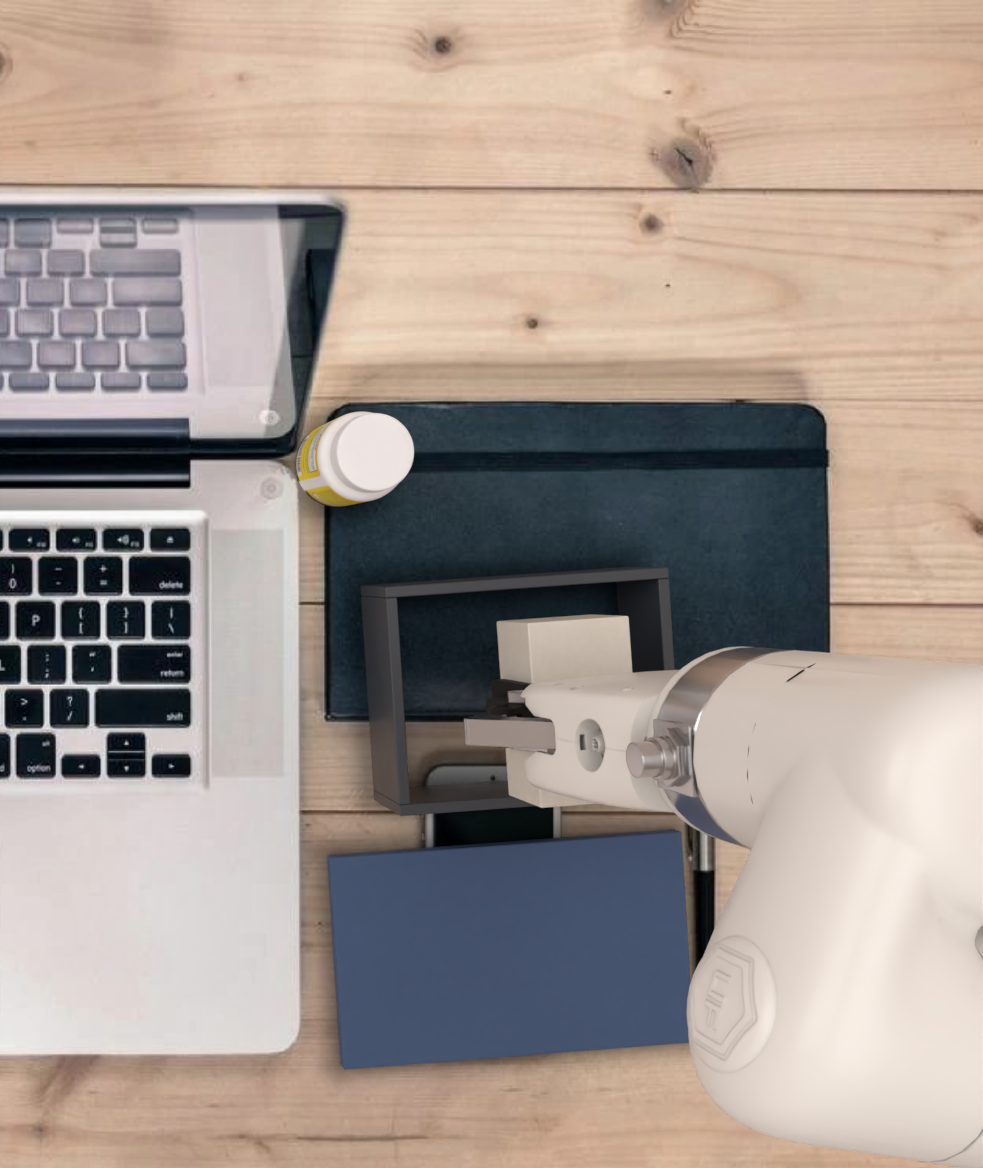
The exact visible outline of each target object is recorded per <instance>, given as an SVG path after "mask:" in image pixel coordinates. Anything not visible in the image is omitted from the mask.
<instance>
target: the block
mask: <svg viewBox="0 0 983 1168" xmlns="http://www.w3.org/2000/svg"><path fill="white" fill-rule="evenodd" d="M496 633H497V634H496V635H497V645H498V646H497V647H498V661H499V662H498V663H499V676H500V677H499V678H500V679H508V680H514V681H519V682H525V683H531V684H533V683H540V682H549V681H558V680H566V679H574V678H583V677H593V676H603V675H613V674H624V673H633V672H632V658H631V644H630V630H629V617H628V616H618V615H617V614H615V615H614V614H613V615H612V614H592V613H591V614H579V615H565V616H550V617H536V618H522V619H507V620H498V621H496ZM540 718H541V717H540ZM533 753H534V752H529V751H522V750H515V749H511V747H509V748H505V759H506V760H505V761H506V774H507V775H506V776H507V780H508V790H509V795H510V796H512V797H515V798H518V799H520V800H523V801H525V802H528V803H530V804H533V805H536V806H535V807H538V808H540V809H545V808H558V807H559V808H560V807H572V806H586V805H587V806H588V805H599V804H598V803H593V802H588V801H584V800H580V799H575V798H571V797H567V796H563V795H559V794H555V793H552V792H548V791H544V790H541V789H538V788H536V787H534V786H533V785H531V784H530V783H529V782H528V781H527V780H526V776H525V770H524V763H523V762H524V760H525V759H527V758H528V757H529V756H530V755H531V754H533Z"/></svg>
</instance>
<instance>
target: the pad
mask: <svg viewBox="0 0 983 1168" xmlns="http://www.w3.org/2000/svg"><path fill="white" fill-rule="evenodd" d="M682 836H683V835H682V831H680V830H677V829H674V828H670V829H656V830H646V831H645V830H644V831H632V832H629V831H628V832H618V833H605V834H603V833H602V834H591V835H578V836H577V835H576V836H565V837H552V838H551V837H550V838H537V839H525V840H511V841H495V842H482V843H471V844H457V845H456V844H455V845H444V846H431V847H416V848H415V847H414V848H403V849H390V850H380V851H379V850H377V851H364V852H362V851H361V852H349V853H335V854H327V856H326V864H327V878H328V879H327V880H328V895H329V910H330V925H331V942H332V952H333V953H332V955H333V970H334V986H335V987H334V988H335V1000H336V1016H337V1030H338V1031H337V1032H338V1034H337V1035H338V1047H339V1064H340V1066H341V1068H342V1069H343V1070H345V1071H346V1070H347V1071H348V1070H357V1069H371V1068H382V1067H383V1068H384V1067H396V1066H397V1067H398V1066H409V1065H421V1064H435V1063H447V1062H459V1061H472V1060H473V1061H474V1060H486V1059H498V1058H510V1057H512V1058H513V1057H522V1056H525V1057H526V1056H536V1055H549V1054H562V1053H573V1052H574V1053H575V1052H588V1051H599V1050H601V1051H602V1050H613V1049H614V1050H615V1049H625V1048H637V1047H639V1048H640V1047H651V1046H664V1045H665V1046H666V1045H675V1044H676V1045H677V1044H689V1037H688V1024H687V998H688V992H689V987H690V983H691V968H690V967H691V966H690V950H689V936H688V917H687V902H686V886H685V870H684V853H683V837H682Z"/></svg>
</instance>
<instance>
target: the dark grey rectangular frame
mask: <svg viewBox="0 0 983 1168" xmlns="http://www.w3.org/2000/svg"><path fill="white" fill-rule="evenodd" d="M669 573H670V572H669V567H668V566H619V567H604V568H603V567H602V568H591V569H590V568H589V569H575V570H563V571H548V572H546V571H545V572H533V573H532V572H531V573H519V574H518V573H517V574H503V575H491V576H489V575H487V576H477V577H476V576H475V577H462V578H461V577H460V578H447V579H432V580H418V581H417V580H416V581H404V582H390V583H377V584H374V583H373V584H362V585H360V587H359V588H360V589H359V590H360V596H361V597H360V601H361V616H362V632H363V633H362V635H363V648H364V649H363V651H364V663H365V664H364V665H365V678H366V679H365V680H366V693H367V695H366V696H367V710H368V711H367V712H368V727H369V741H370V754H371V769H372V770H371V771H372V787H373V800H374V801H375V802H377V803H378V804H380V805H382V806H383V807H385V808H386V809H388V810H390V811H391V812H393V813H395V814H396V815H398V816H400V817H407V816H408V817H409V816H419V815H421V816H422V815H431V814H432V815H434V814H435V815H436V814H448V813H458V812H459V813H462V812H472V811H473V812H474V811H487V810H501V809H514V808H515V809H516V808H528V807H529V808H530V807H537V806H536V805H533V804H530V803H528V802H525V801H523V800H520V799H518V798H515V797H512V796H510V795H509V790H508V779H503V780H501V779H500V780H488V781H477V782H476V781H475V782H463V783H462V782H461V783H446V784H434V785H421V786H420V785H419V786H410V778H409V776H410V775H409V763H408V760H409V759H408V747H407V731H406V729H407V728H406V716H405V715H406V714H405V701H404V700H405V697H404V686H403V685H404V684H403V669H402V667H403V666H402V655H401V654H402V653H401V639H400V621H399V608H398V607H399V606H398V598H406V597H407V598H408V597H421V596H435V595H436V596H437V595H448V594H449V595H451V594H462V593H464V594H465V593H477V592H478V593H481V592H493V591H507V590H521V589H535V588H537V589H538V588H550V587H551V588H552V587H564V586H578V585H579V586H580V585H591V584H593V585H594V584H606V583H616V600H617V614H618V616H628V617H629V630H630V644H631V658H632V672H633V673H636V672H647V671H665V670H676V669H675V658H674V657H675V656H674V638H673V637H674V636H673V621H672V608H671V606H672V605H671V589H670V588H671V587H670V575H669Z"/></svg>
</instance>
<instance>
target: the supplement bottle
mask: <svg viewBox="0 0 983 1168" xmlns="http://www.w3.org/2000/svg"><path fill="white" fill-rule="evenodd" d="M414 445H415V444H414V440H413V438H412V436H411V434H410V432H409V430H408V428H406V426H405V424H403V423H402V422H400V421H399V420H398V419H397V418H395V417H394V416H391V415H388V414H386V413H379V412H371V411H354V412H353V411H352V412H348V413H345V414H343V415H341V416H338V417H337V418H334V419H332V420H330V421H328V422H325V423H324V424H322V425H319V426H317V427H316V428H313V429H312V430H311V431H310V432H309V433H308V434H307V435H306V436H305V437H304V438H303V439H302V441H301V442H300V444H299V446H298V448H297V451H296V455H295V461H294V471H295V475H296V479H297V482H298V483H299V485H300V487H301V488H302V490H303V491H304V493H305V494H306V495H307V496H308V497H309V498H310V499H312V500H313V501H315V502H317V503H319V504H320V505H323V506H327V507H334V508H340V507H346V506H347V507H348V506H352V505H357V504H362V503H367V502H372V501H375V500H379V499H381V498H383V497H384V496H386V495H389V493H390V492H392V491H393V490H394V489H395V488H396V487H397V486H398V485H399V484H400V483H401V482H402V481H403V480H404V479H405V478H406V476H407V475H408V474H409V472H410V470H411V468H412V467H413V463H414V460H415V459H414V458H415V446H414Z"/></svg>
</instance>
